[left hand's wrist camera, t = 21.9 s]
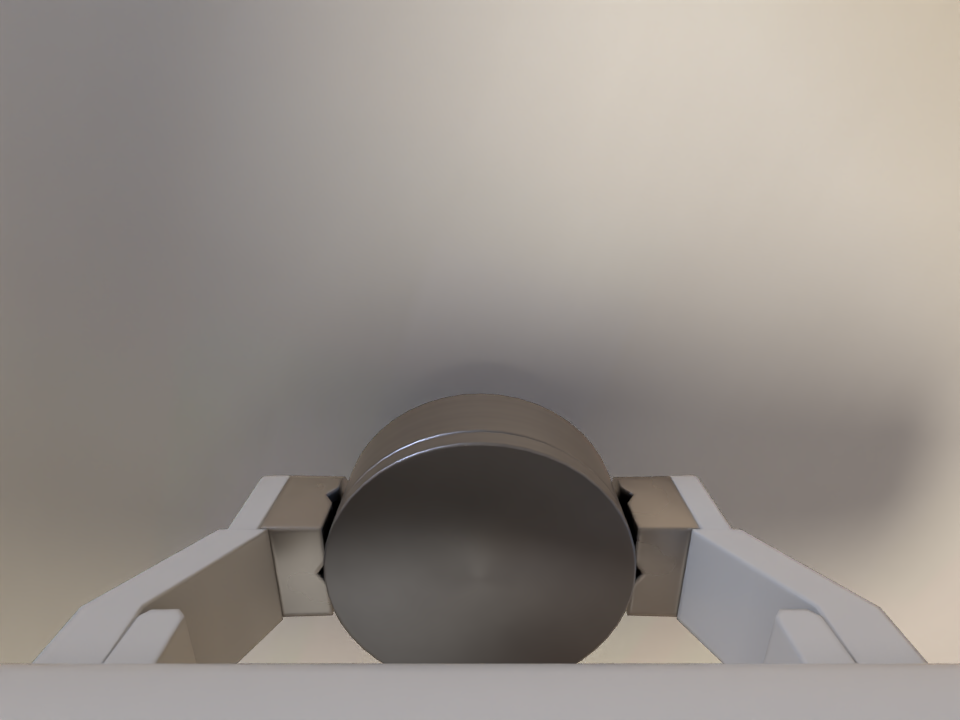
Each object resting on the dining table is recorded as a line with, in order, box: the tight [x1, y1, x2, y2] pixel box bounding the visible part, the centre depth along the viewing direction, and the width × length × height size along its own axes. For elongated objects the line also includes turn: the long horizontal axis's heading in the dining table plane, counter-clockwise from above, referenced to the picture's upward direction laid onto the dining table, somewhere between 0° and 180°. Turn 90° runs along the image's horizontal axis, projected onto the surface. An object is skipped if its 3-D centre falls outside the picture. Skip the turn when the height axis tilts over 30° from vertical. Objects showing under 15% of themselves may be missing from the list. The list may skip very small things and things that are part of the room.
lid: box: [323, 394, 636, 664], centre depth 9 cm, size 5×5×2 cm
